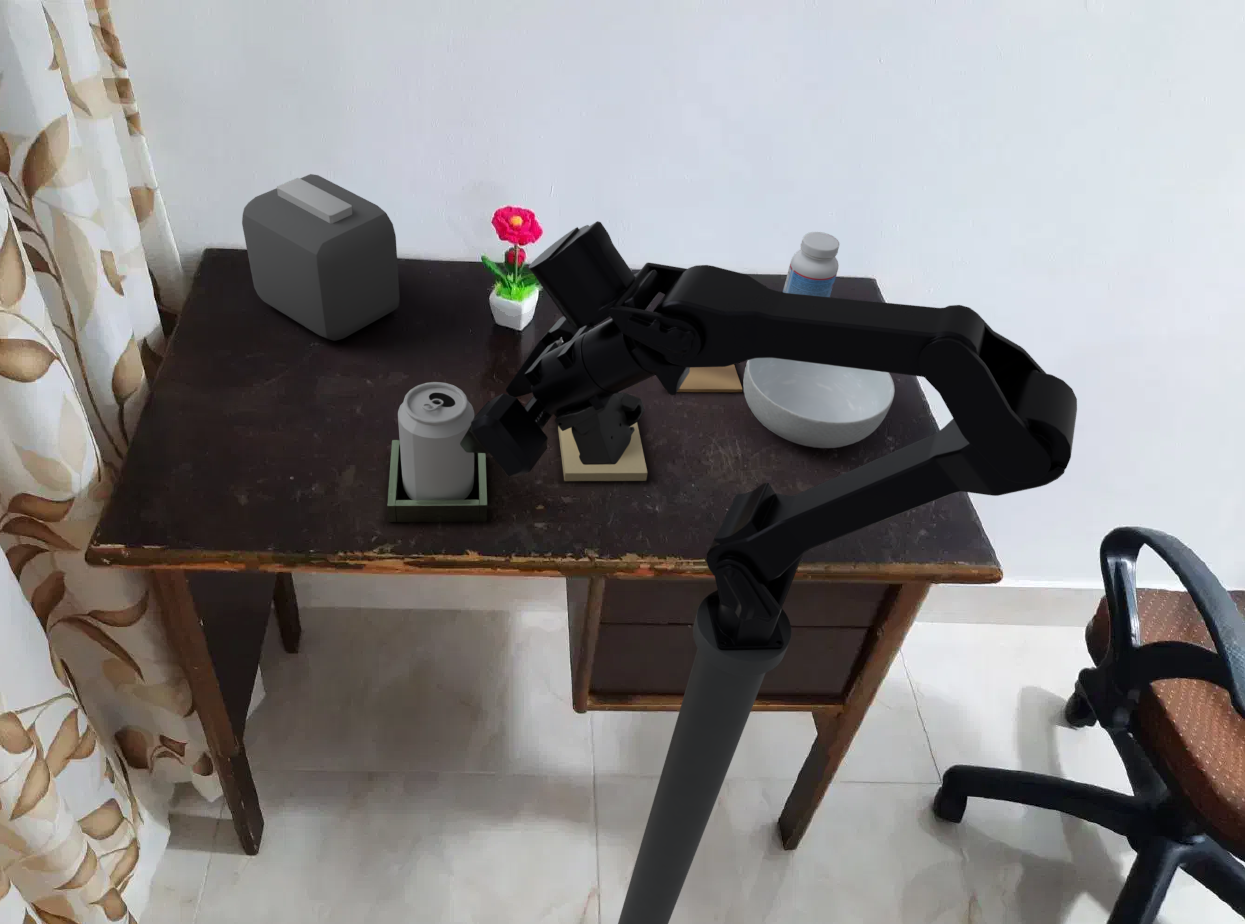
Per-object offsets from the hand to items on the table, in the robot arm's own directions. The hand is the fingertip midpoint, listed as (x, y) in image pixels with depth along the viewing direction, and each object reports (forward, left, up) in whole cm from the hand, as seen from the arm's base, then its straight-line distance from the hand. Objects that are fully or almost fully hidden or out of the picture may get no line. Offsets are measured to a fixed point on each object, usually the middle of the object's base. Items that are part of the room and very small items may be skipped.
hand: (487, 419), depth 91 cm
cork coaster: (+24, -27, -12) cm, 38 cm away
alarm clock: (+36, +20, -12) cm, 43 cm away
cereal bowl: (+14, -38, -12) cm, 42 cm away
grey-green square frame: (+3, +5, -12) cm, 13 cm away
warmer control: (+10, -13, -12) cm, 20 cm away
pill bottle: (+36, -43, -12) cm, 57 cm away
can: (+3, +5, -12) cm, 13 cm away
